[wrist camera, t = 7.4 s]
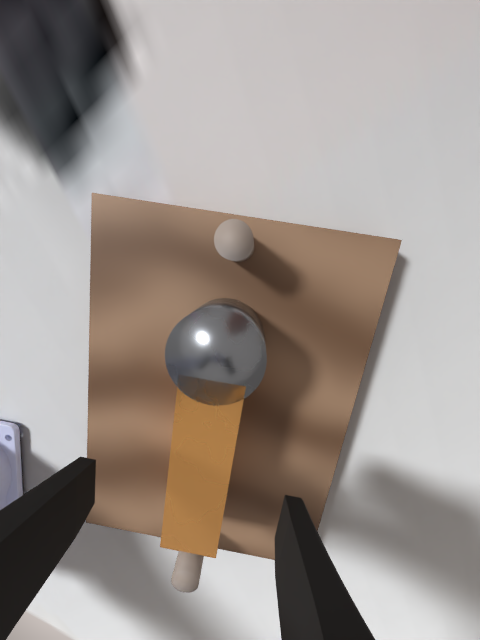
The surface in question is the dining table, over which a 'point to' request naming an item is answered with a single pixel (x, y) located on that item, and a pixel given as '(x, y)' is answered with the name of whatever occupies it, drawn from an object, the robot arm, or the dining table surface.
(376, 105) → the dining table surface
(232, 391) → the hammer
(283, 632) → the robot arm
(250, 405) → the walnut board
